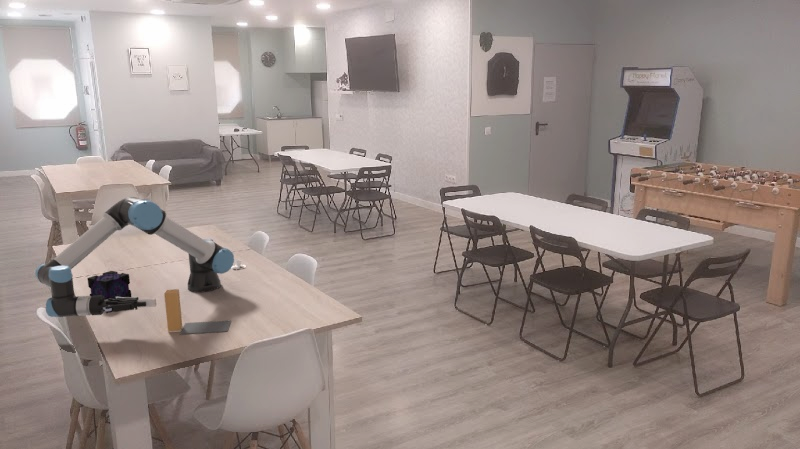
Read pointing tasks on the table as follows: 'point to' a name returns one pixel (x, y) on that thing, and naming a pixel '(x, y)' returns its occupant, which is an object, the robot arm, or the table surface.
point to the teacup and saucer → (238, 265)
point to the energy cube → (110, 285)
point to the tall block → (173, 310)
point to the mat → (205, 327)
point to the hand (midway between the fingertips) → (155, 302)
